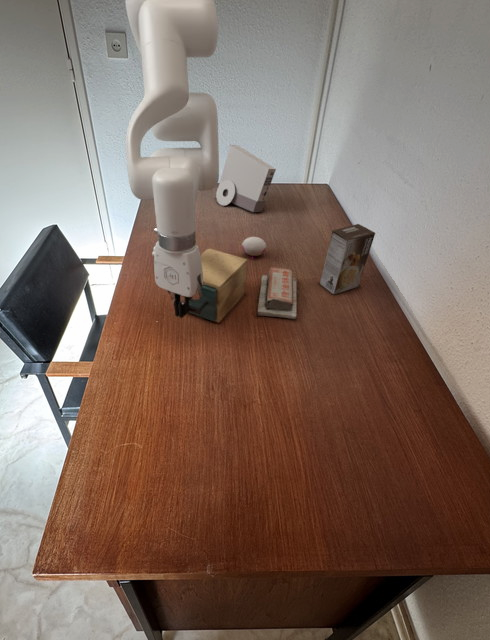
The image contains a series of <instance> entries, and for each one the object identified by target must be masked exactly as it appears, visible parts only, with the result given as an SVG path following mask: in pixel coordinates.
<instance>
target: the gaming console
mask: <svg viewBox="0 0 490 640" xmlns="http://www.w3.org/2000/svg"><path fill="white" fill-rule="evenodd" d="M223 165H224V166H223V168H222V173H221V176H220V181H219V183H218V185H217V188H216V192H215V197H216V201H217V203H218V204H219V205H220V206H223V207H224V206H228V205H229V204H233V205H235V206H238V207H240V208H242V209H245V210H247V211H249V212H251V213H259V212H263V209H264V206H265V203H266V198H267V195H268V193H269V190H270V187H271V184H272V181H273V179H274V176H275V173H276V170H277V168H275V167H274V166H272V165H270V164H269V163H268V162H265V161H264V160H263V159H262V158H261V159H260V158H259V157H257V156H256V155H255V154H253V153H251V152H250V151H248V150H246V149H245V148H244V147H242V146H240V145H237V144H229V148H228V151H227V155H226V158H225V162H224V164H223Z"/></svg>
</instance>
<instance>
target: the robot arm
mask: <svg viewBox="0 0 490 640" xmlns="http://www.w3.org/2000/svg"><path fill="white" fill-rule="evenodd" d="M124 1H125V2H124V3H125V9H126V16H127V19H128V24H129V27H130V30H131V33H132V36H133V38H134V42H135V45H136V47H137V49H138V52H139V54H140V57H141V68H142V82H143V91H144V93H143V99H142V100H141V102H140V103H139V104H138V106H137V107H136V108H135V110H134V112H133V114H132V115H131V118H130V120H129V123H128V126H127V130H126V135H125V155H126V156H125V157H126V168H127V169H126V170H127V178H128V184H129V188H130V191H131V193H132V195H133V196H134V197H135V198H136V199H137V200H141V201H153V202H154V203H153V204H154V213H155V221H156V222H155V223H156V227H154V230H153V232H154V234H155V235H157V241H156V242H155V245H154V246H153V248H152V252H151V255H152V256H153V257H154V258H153V265H154V266H153V269H154V280H155V281H154V282H155V284H156V286H157V287H158V288H159V289H163V290H164V291H165V290H166V291H167V293H168V294H169V297H170V299H171V301H173V309H174V316H175V317H179V318H180V319H183V318H184V317H185V316H186V315H187V314H189V300H190V299H197V300H199V299H200V298H201V297H202V292H201V289H202V287H203V270H202V261H201V256H200V255H201V252H200V248H199V245H198V244H197V236H196V235H197V233H196V232H197V231H196V229H197V228H196V203H195V200H196V199H195V198H196V196H198V195H197V194H198V193H199V192H203V191H204V192H205V191H211V190H212V191H213V190H214V189H215V188H216V187H218V185H219V178H220V151H219V150H220V147H219V119H218V109H217V104H216V101H215V99H214V97H213V96H212V95H211V94H209V93H206V92H190V87H189V74H188V73H189V71H188V58H211V56H212V57H213V55H214V54H215V52H216V49H217V45H218V37H219V26H218V25H219V22H218V12H217V8H216V3H215V0H124ZM150 130H151V131H152V134H153V136H154V138H155V139H157V140H158V141H162V142H197V143H198V144H199V146H200V147H165V148H159V149H156V150H154V151H153V152H152V153H151V154H150V155H149V156H142V155H141V147H142V146H141V145H142V141H143V140H144V137H145V135H146V134H147V133H149V131H150Z"/></svg>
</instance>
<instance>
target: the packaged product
mask: <svg viewBox="0 0 490 640" xmlns="http://www.w3.org/2000/svg"><path fill="white" fill-rule="evenodd" d="M259 289H260V291H259V296H258V304H257V316H263V317H273V318H274V317H275V318H287V319H291V320H296V318H297V278H294V271H293V270H291V269H289V268H283V267H273V266H272V267H269V270H268V273H267V274H263V275H261V281H260V287H259Z"/></svg>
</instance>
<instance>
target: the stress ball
mask: <svg viewBox="0 0 490 640" xmlns="http://www.w3.org/2000/svg"><path fill="white" fill-rule="evenodd" d="M241 248H242V251H243V252H244V253H245V254H246V255H248V256H252V257H251V258H250V259H251V260H255V258H254V257H257V256H260V255H263V254H264V253H265V252H266V250H267V243H266V241H264V239H263V238H261V237H257V236H249V237H247V238H244V240H243V242H242V243H241Z"/></svg>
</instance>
